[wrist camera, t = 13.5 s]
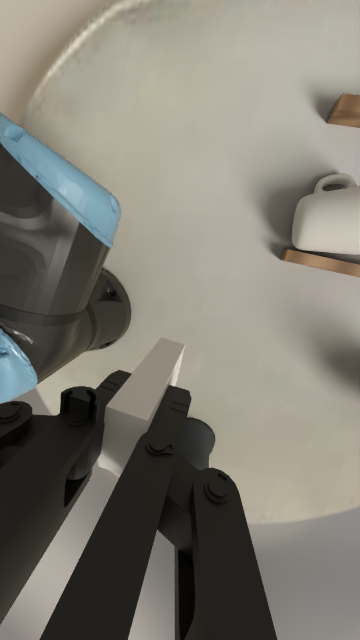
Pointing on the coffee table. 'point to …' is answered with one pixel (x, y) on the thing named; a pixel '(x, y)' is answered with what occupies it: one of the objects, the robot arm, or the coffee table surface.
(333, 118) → the brown wooden open frame
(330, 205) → the cup
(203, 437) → the mug
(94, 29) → the coffee table surface
